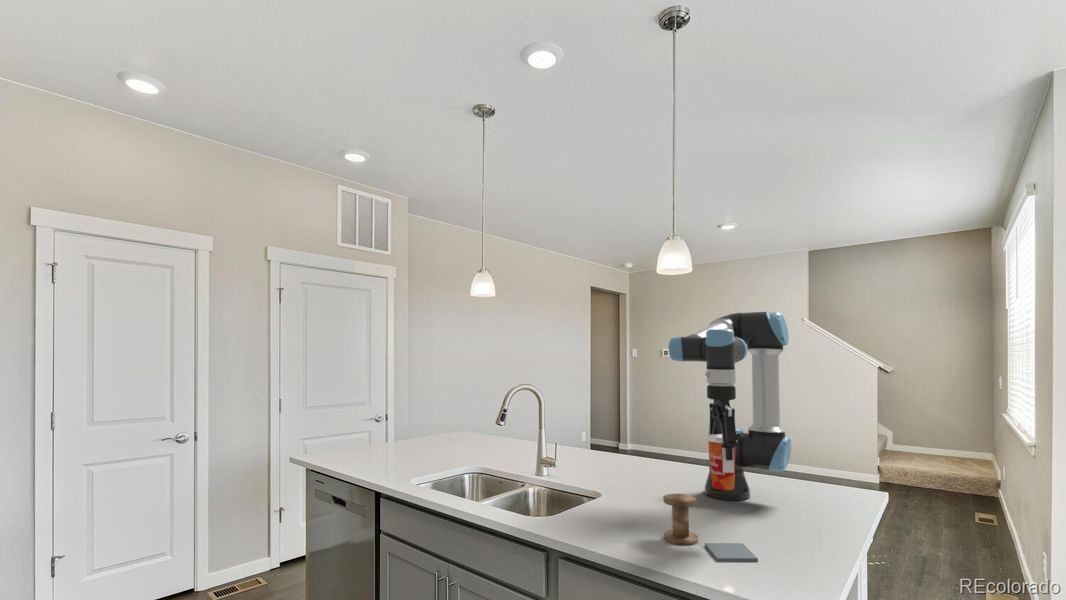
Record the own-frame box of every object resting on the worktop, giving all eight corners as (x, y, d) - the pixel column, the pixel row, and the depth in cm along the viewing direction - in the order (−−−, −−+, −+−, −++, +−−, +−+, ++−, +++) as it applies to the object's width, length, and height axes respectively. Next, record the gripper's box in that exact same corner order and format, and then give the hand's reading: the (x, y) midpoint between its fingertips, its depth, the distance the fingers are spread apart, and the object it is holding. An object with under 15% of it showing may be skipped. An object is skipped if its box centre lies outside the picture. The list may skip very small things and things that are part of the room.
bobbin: (692, 533, 153) (691, 493, 153) (702, 545, 144) (701, 503, 144) (660, 533, 153) (660, 493, 153) (668, 545, 144) (667, 503, 144)
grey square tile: (742, 546, 143) (742, 543, 143) (757, 561, 133) (757, 558, 133) (704, 546, 143) (704, 543, 143) (717, 561, 133) (717, 558, 133)
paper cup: (704, 484, 151) (702, 433, 152) (730, 483, 151) (729, 433, 152) (715, 491, 143) (714, 438, 144) (743, 491, 144) (742, 438, 145)
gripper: (696, 382, 160) (698, 460, 158) (719, 387, 139) (722, 477, 137) (722, 382, 160) (723, 460, 158) (748, 387, 139) (751, 478, 137)
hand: (723, 468), depth 148 cm, fingers closed on paper cup, 8 cm apart
